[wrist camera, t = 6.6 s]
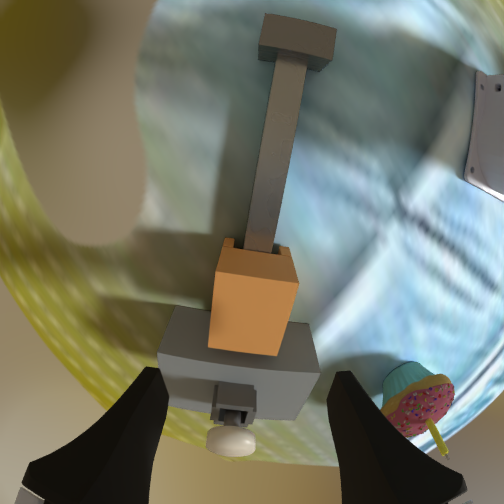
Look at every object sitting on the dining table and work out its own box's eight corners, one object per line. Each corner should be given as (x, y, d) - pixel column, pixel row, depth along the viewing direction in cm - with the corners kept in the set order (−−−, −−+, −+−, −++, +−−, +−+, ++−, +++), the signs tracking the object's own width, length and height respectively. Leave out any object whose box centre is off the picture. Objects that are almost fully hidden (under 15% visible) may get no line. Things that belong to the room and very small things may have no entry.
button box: (173, 304, 19) (145, 373, 13) (308, 324, 20) (325, 395, 14) (174, 358, 22) (155, 422, 15) (289, 374, 22) (296, 439, 16)
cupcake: (368, 364, 22) (407, 474, 11) (442, 336, 21) (497, 425, 10) (365, 408, 25) (389, 495, 14) (428, 384, 24) (463, 460, 13)
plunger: (211, 398, 14) (206, 435, 12) (258, 403, 14) (259, 441, 12) (209, 419, 15) (205, 453, 13) (251, 424, 15) (250, 458, 13)
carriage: (225, 237, 17) (215, 271, 13) (289, 247, 17) (299, 283, 13) (216, 303, 19) (207, 347, 15) (272, 311, 19) (276, 356, 15)
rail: (263, 31, 12) (265, 13, 9) (323, 44, 12) (336, 29, 9) (216, 327, 20) (212, 353, 17) (263, 334, 20) (264, 360, 18)
